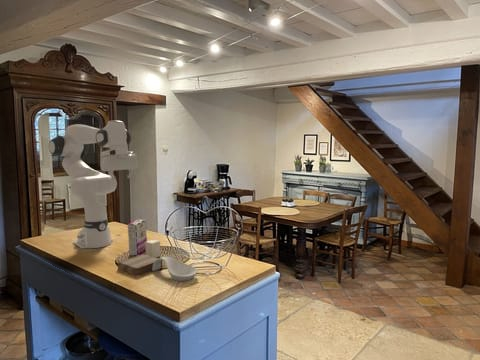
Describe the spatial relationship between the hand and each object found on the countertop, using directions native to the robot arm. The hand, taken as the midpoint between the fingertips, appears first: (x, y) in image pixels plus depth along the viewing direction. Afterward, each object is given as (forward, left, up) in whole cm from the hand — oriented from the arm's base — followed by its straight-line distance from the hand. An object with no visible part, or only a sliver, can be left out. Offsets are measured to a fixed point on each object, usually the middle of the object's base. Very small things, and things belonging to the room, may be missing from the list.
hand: (121, 179), depth 183 cm
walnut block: (+25, -9, -39) cm, 47 cm away
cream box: (+17, +5, -39) cm, 43 cm away
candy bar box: (+5, +5, -39) cm, 40 cm away
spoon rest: (+44, -6, -39) cm, 59 cm away
